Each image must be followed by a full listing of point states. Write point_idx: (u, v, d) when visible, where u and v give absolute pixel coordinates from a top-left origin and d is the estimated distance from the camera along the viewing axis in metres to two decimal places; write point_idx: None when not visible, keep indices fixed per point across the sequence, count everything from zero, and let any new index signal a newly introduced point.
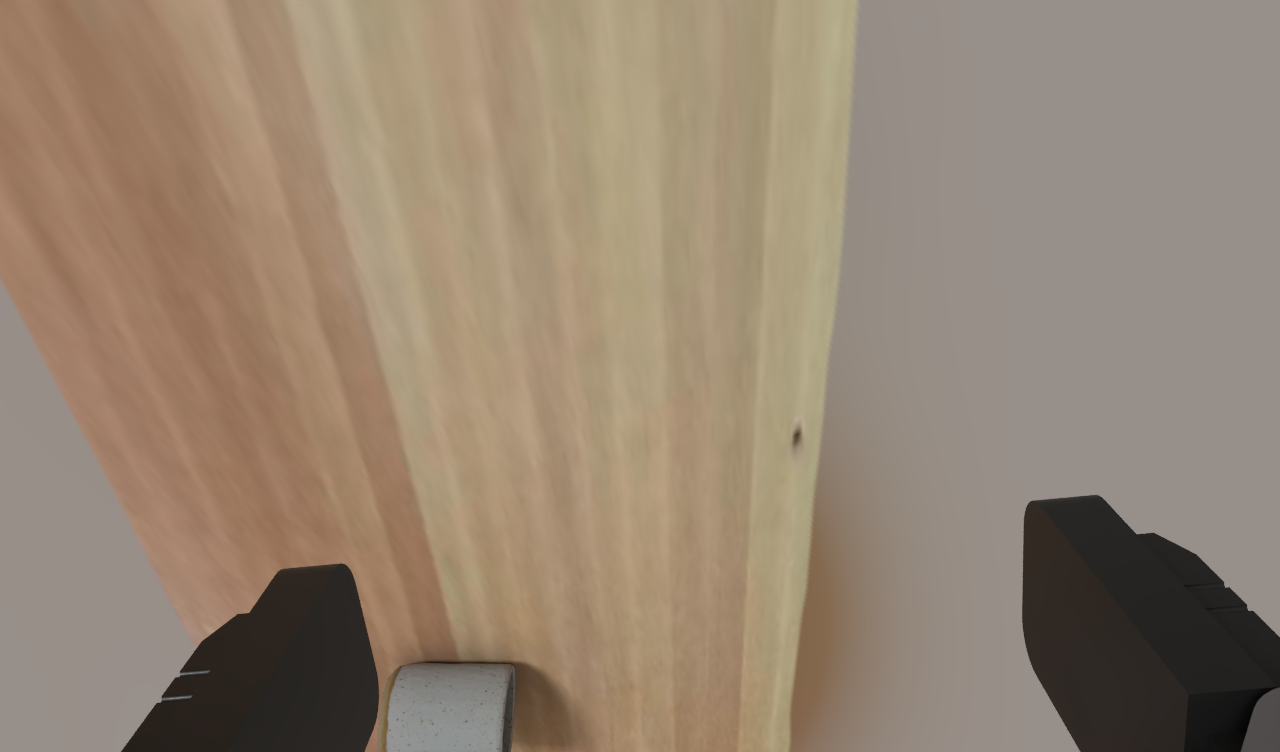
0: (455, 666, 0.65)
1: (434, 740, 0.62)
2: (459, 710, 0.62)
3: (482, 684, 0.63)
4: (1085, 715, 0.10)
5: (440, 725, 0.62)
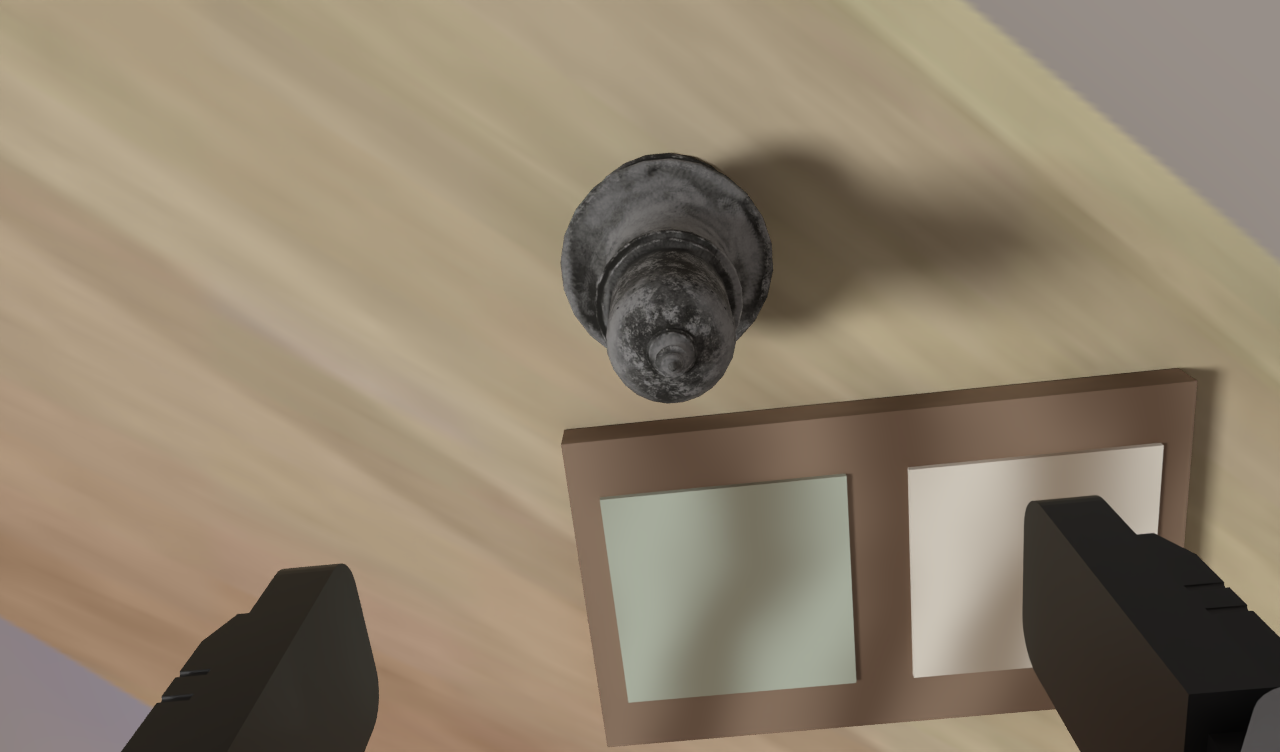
0: None
1: None
2: None
3: None
4: (1085, 715, 0.10)
5: None
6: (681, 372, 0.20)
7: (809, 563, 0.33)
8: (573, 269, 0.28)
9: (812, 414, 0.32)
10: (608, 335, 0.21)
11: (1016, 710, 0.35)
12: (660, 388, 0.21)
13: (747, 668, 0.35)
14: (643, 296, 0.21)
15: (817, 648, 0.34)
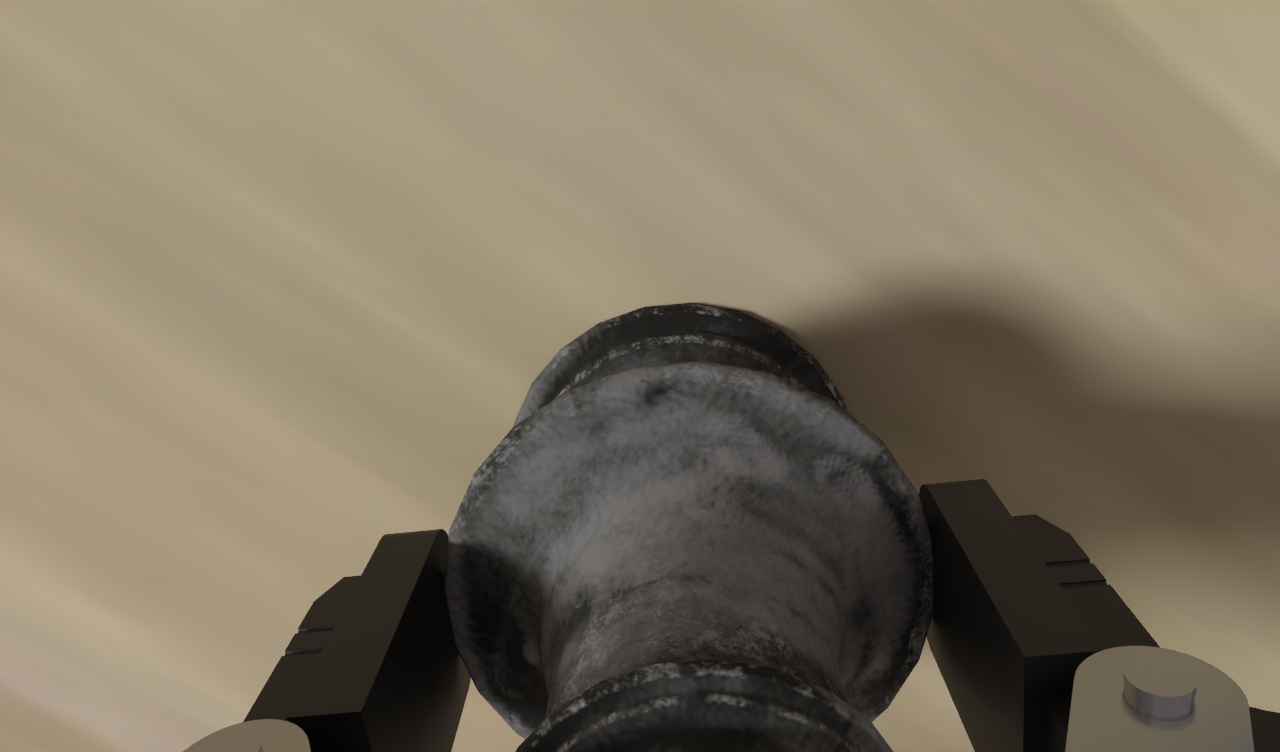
0: None
1: None
2: None
3: None
4: (963, 685, 0.11)
5: None
6: None
7: None
8: (470, 603, 0.12)
9: None
10: None
11: None
12: None
13: None
14: None
15: None
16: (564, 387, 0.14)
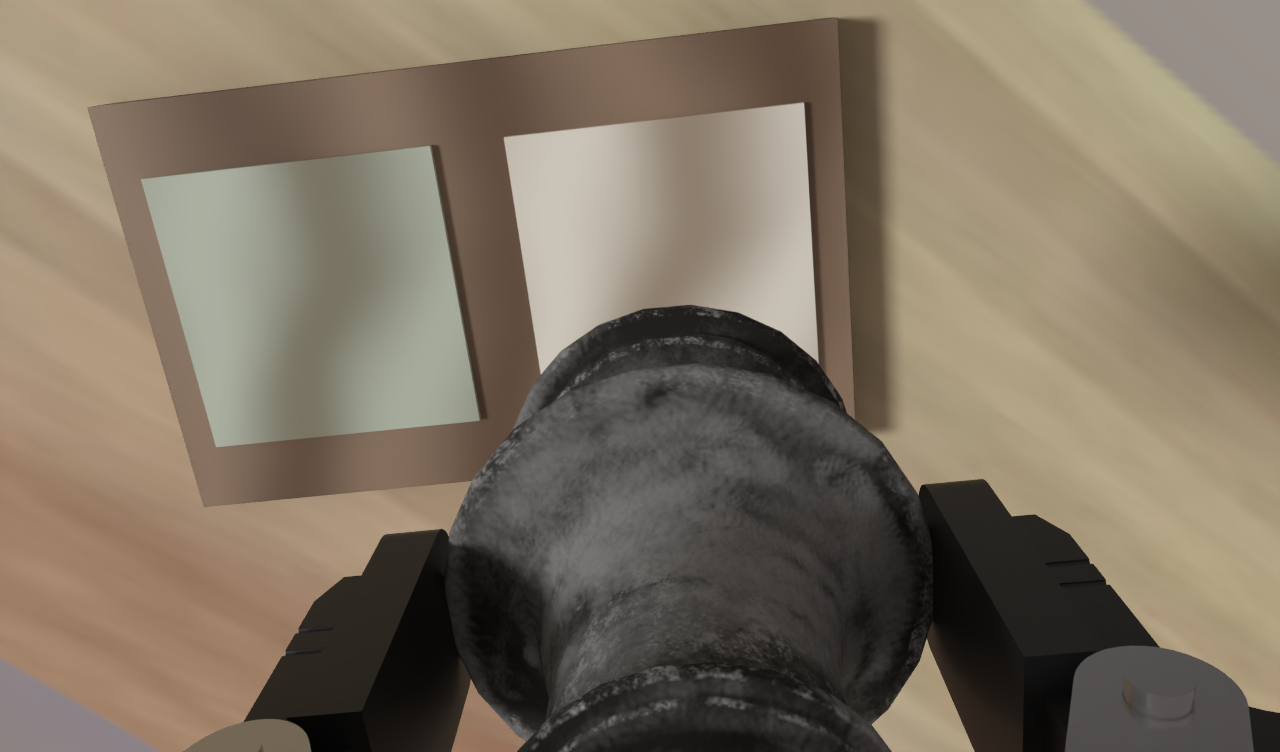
0: None
1: None
2: None
3: None
4: (963, 685, 0.11)
5: None
6: None
7: (402, 263, 0.28)
8: (471, 606, 0.12)
9: None
10: None
11: None
12: None
13: (348, 402, 0.29)
14: None
15: (427, 376, 0.29)
16: (564, 389, 0.14)
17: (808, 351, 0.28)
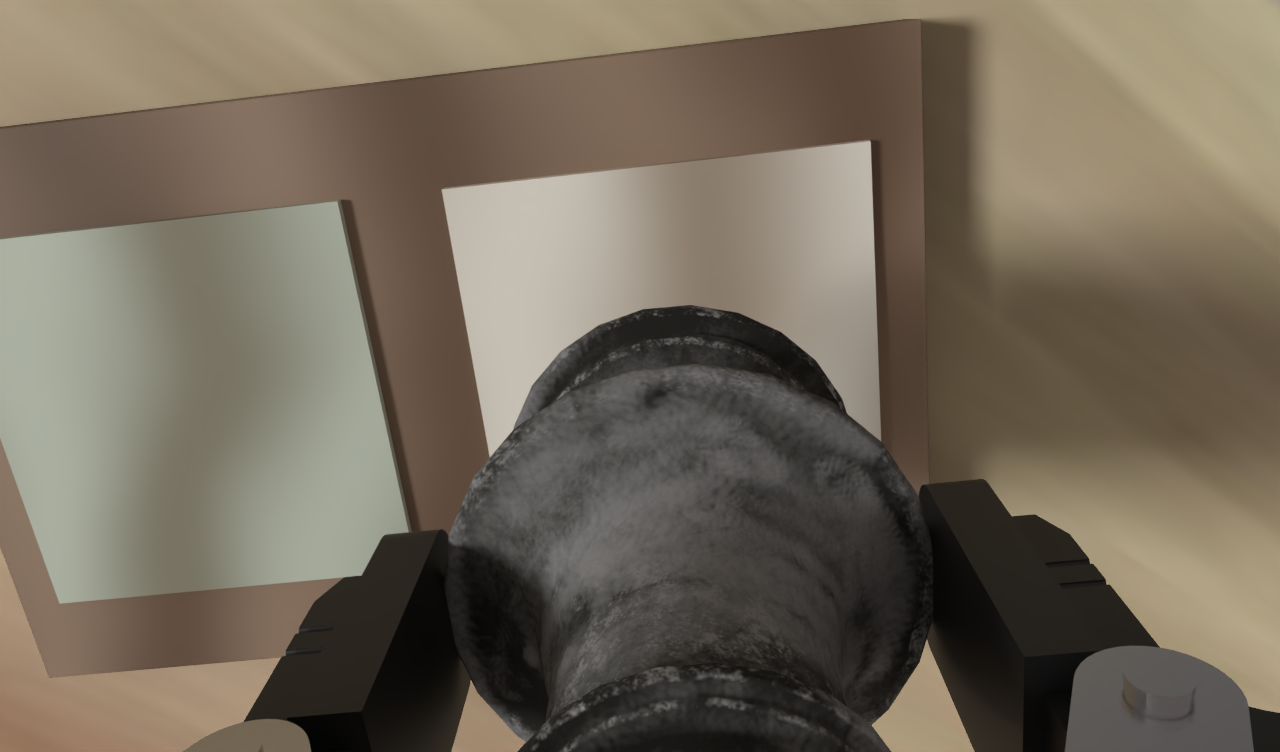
0: None
1: None
2: None
3: None
4: (963, 685, 0.11)
5: None
6: None
7: (303, 362, 0.20)
8: (472, 606, 0.12)
9: (279, 95, 0.19)
10: None
11: None
12: None
13: (237, 545, 0.21)
14: None
15: (343, 512, 0.21)
16: (564, 389, 0.14)
17: None
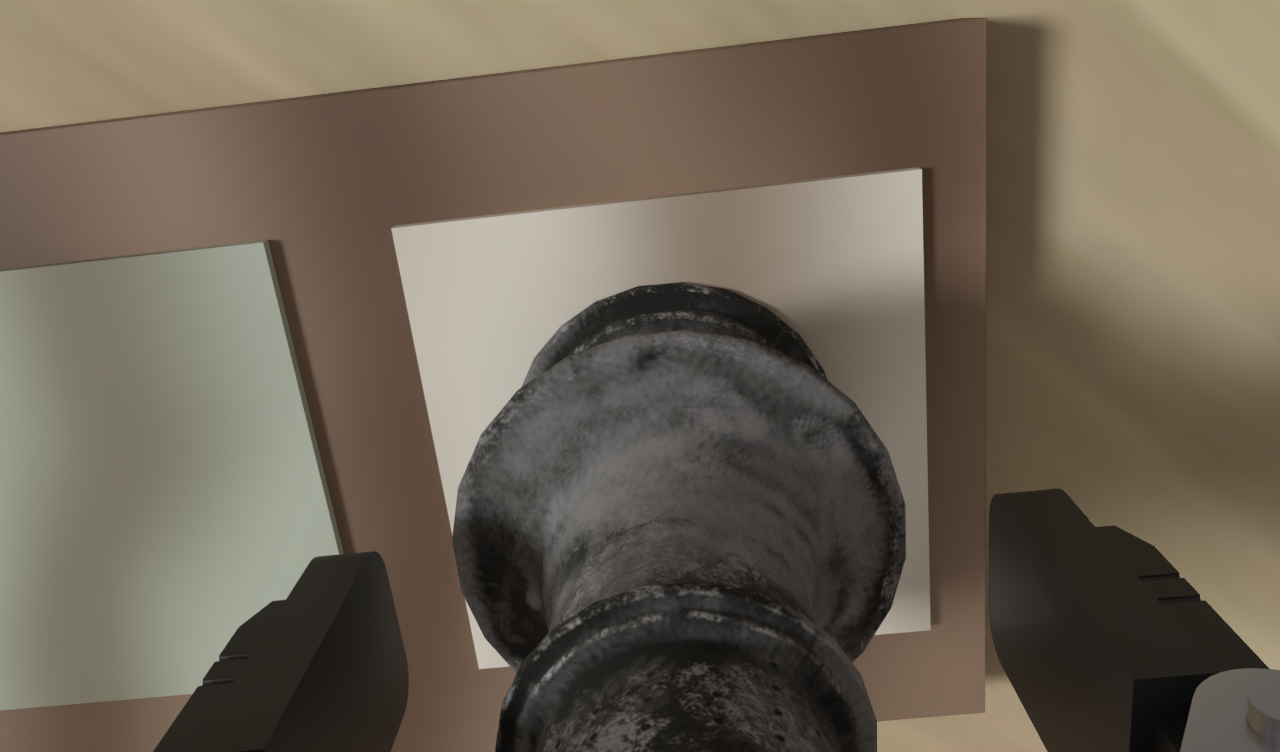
0: None
1: None
2: None
3: None
4: (1045, 703, 0.10)
5: None
6: None
7: (227, 436, 0.16)
8: (478, 556, 0.13)
9: (191, 111, 0.15)
10: None
11: None
12: None
13: (153, 649, 0.18)
14: None
15: None
16: None
17: (913, 576, 0.17)
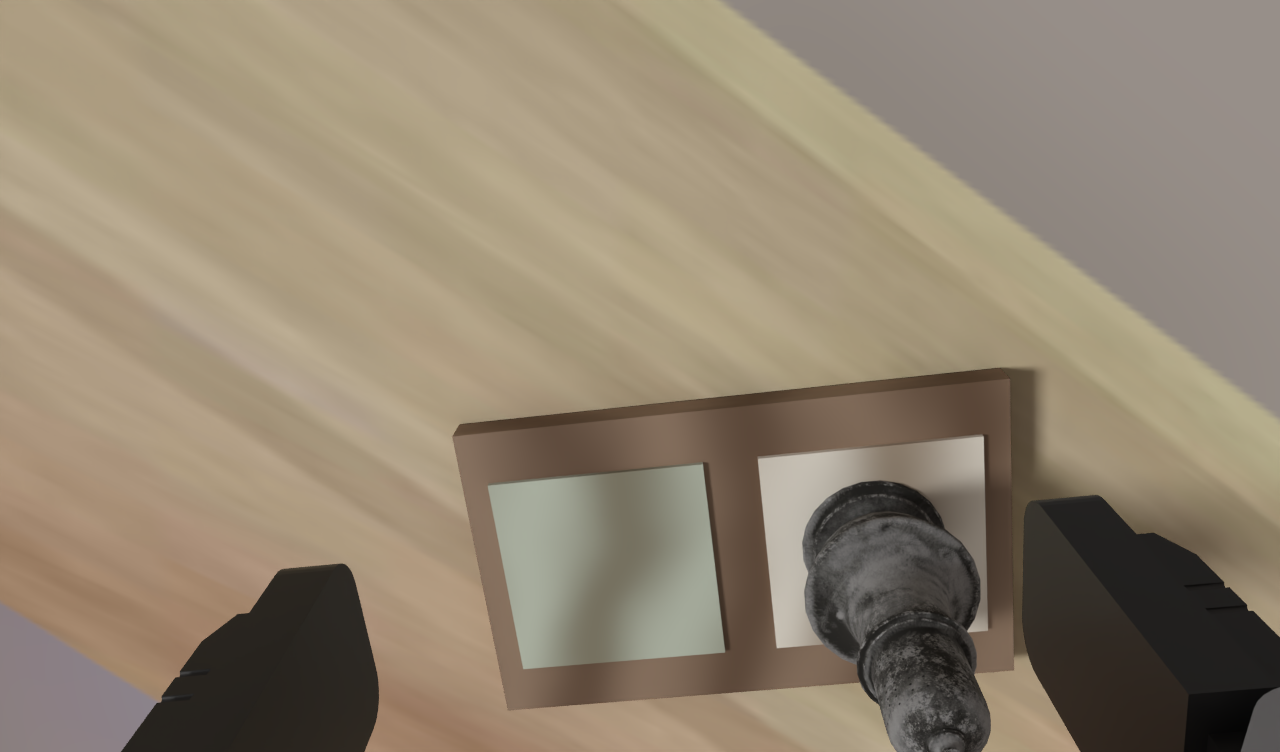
0: None
1: None
2: None
3: None
4: (1085, 715, 0.10)
5: None
6: None
7: (675, 543, 0.37)
8: (815, 598, 0.34)
9: (672, 409, 0.36)
10: (890, 722, 0.27)
11: None
12: None
13: (626, 638, 0.39)
14: (923, 700, 0.27)
15: (687, 620, 0.38)
16: (829, 513, 0.36)
17: (980, 606, 0.38)
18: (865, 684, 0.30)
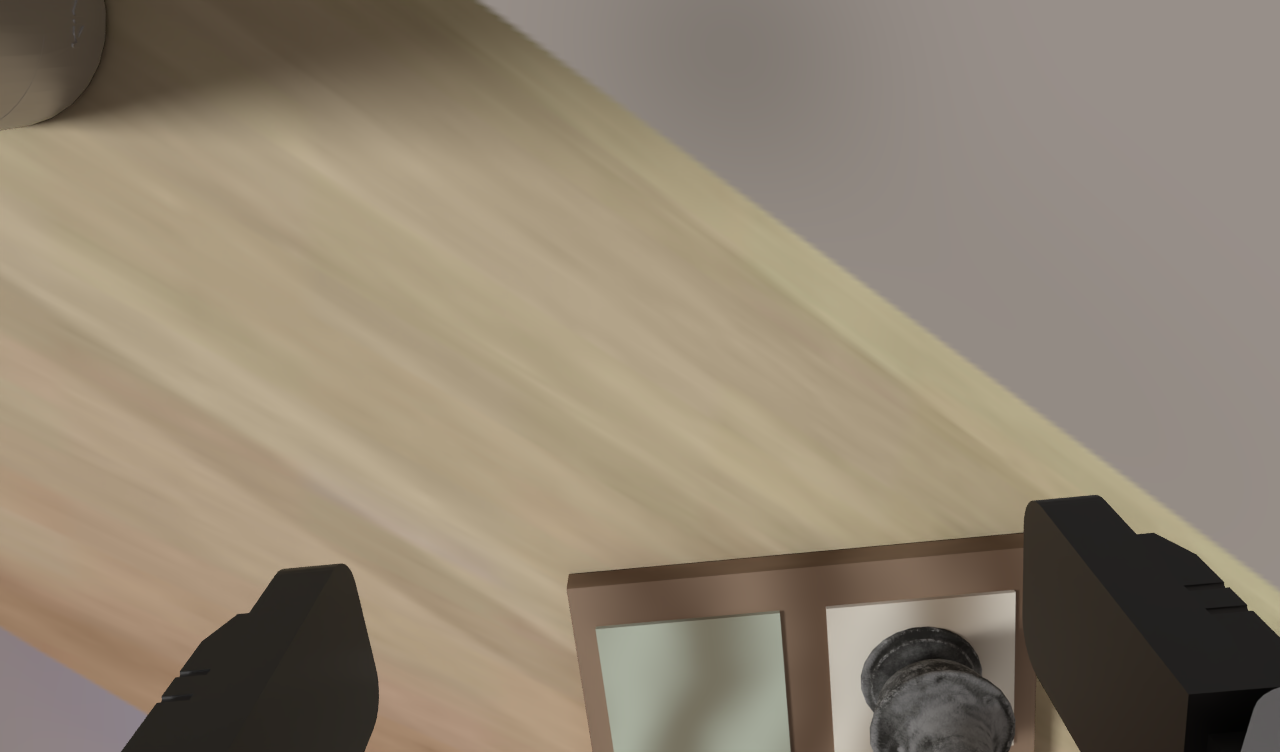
0: None
1: None
2: None
3: None
4: (1085, 715, 0.10)
5: None
6: None
7: (753, 676, 0.44)
8: (879, 734, 0.40)
9: (754, 566, 0.43)
10: None
11: None
12: None
13: None
14: None
15: (760, 737, 0.45)
16: (885, 654, 0.43)
17: None
18: None
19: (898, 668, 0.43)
